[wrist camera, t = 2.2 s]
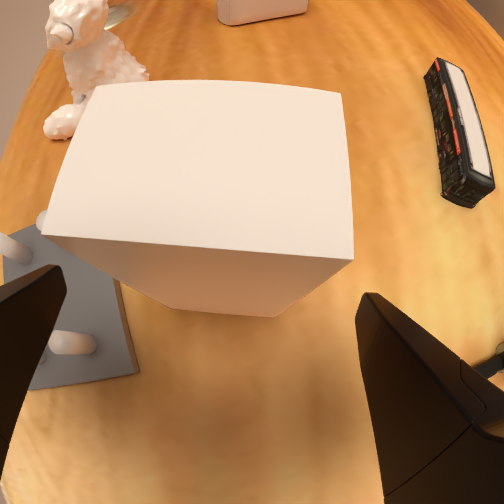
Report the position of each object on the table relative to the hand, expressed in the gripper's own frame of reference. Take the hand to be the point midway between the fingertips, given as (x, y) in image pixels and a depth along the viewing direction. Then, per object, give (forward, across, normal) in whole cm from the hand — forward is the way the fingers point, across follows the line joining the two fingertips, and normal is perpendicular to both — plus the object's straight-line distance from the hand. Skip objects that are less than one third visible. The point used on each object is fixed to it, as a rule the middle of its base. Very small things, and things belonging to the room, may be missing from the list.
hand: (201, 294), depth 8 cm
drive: (+8, 0, +5) cm, 10 cm away
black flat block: (+21, -20, -6) cm, 29 cm away
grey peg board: (+7, +11, +7) cm, 14 cm away
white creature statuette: (+18, +11, -4) cm, 22 cm away
